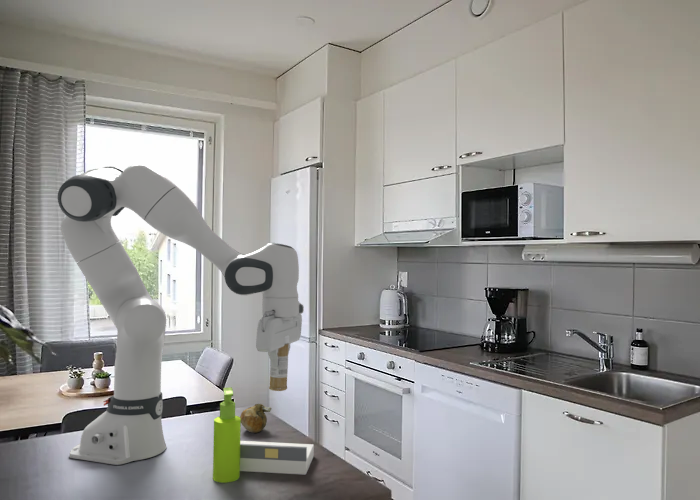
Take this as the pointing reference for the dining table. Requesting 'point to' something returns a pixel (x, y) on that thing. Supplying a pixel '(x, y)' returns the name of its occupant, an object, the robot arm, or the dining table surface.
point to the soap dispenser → (226, 441)
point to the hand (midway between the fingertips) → (279, 364)
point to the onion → (254, 418)
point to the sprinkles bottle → (280, 369)
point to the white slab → (275, 457)
